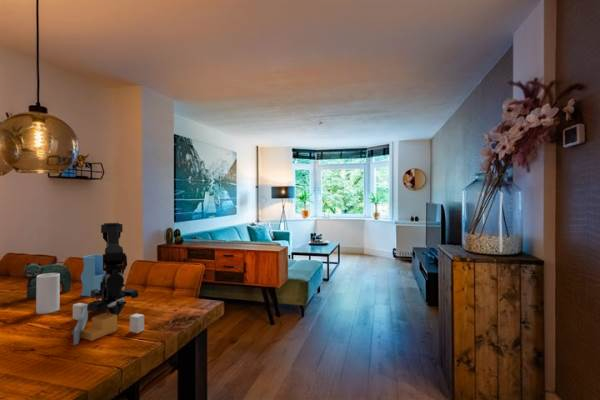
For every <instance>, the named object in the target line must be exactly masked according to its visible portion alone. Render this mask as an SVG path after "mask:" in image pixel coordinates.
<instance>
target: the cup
mask: <svg viewBox="0 0 600 400" xmlns="http://www.w3.org/2000/svg"><path fill="white" fill-rule="evenodd" d="M60 286H61V284H60V274H59V273H47V274H41V275H38V276H37V278H36V299H35V301H36V302H35V304H36V306H35V308H36V309H35V311H36V312H35V313H36V314H39V315H40V314H41V315H44V314H50V313H51V314H52V313H55V312H58V311H59V310H60V301H61V300H60V289H61V287H60Z"/></svg>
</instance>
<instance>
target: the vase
mask: <svg viewBox="0 0 600 400" xmlns="http://www.w3.org/2000/svg"><path fill="white" fill-rule="evenodd" d="M82 262H83V270H82V272H81V275H80V280H81V283H82V284H81V285H82V287H81V288H82V290H81V293H80V297H81V296H83V297H91V291H92V290H95V289H98V290H100V282H102V277H103V275H104V274H105V271H103V254H90V255H85V256H82Z"/></svg>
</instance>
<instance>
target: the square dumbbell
mask: <svg viewBox="0 0 600 400" xmlns="http://www.w3.org/2000/svg"><path fill="white" fill-rule="evenodd" d="M88 304H89V303H83V302H77V303H74V304H72V320H76V321H78V320H79V318H80V316H81V314H82V312H83V310H84V308H86V307H87V305H88ZM143 331H145V315H144V314H142V313H134V314H131V315H130V316H129V332H131V333H134V334H135V333H136V334H139V333H141V332H143Z"/></svg>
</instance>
